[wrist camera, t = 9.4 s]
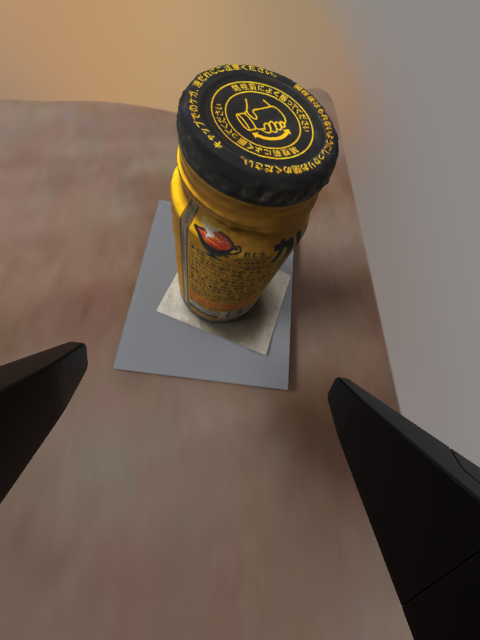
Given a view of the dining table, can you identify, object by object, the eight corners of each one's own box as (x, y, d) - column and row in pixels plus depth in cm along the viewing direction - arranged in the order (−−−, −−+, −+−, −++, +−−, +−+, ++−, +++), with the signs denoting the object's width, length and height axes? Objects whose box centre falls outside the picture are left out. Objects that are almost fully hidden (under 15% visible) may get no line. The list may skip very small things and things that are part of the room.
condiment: (197, 235, 19) (206, 11, 8) (290, 276, 20) (421, 124, 8) (156, 311, 17) (83, 144, 5) (264, 356, 17) (402, 289, 6)
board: (283, 389, 18) (287, 389, 17) (116, 369, 16) (112, 368, 15) (290, 236, 22) (294, 231, 21) (160, 206, 20) (159, 199, 19)
